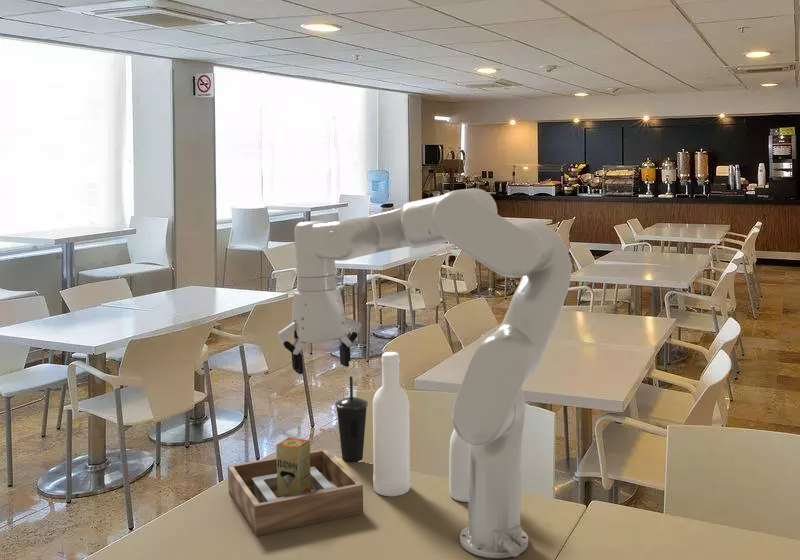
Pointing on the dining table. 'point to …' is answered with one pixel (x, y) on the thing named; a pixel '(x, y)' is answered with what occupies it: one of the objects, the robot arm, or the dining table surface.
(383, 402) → the bottle
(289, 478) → the shoe polish box
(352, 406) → the drinking cup
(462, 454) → the milk bottle
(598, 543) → the dining table surface
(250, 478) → the walnut crate
